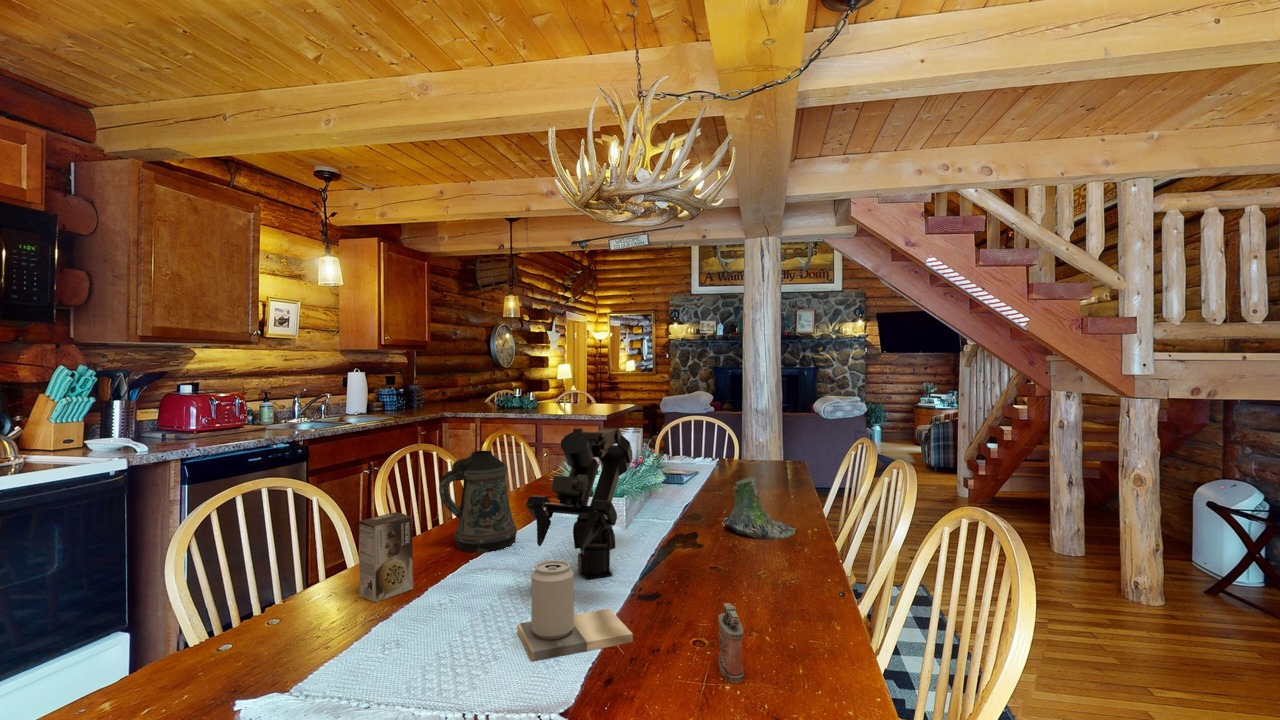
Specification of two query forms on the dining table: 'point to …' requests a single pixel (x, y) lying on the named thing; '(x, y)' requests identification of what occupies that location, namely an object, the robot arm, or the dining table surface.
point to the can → (552, 599)
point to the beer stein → (480, 504)
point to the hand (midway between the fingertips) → (559, 547)
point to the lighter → (730, 644)
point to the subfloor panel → (577, 636)
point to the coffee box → (385, 556)
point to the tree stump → (754, 514)
